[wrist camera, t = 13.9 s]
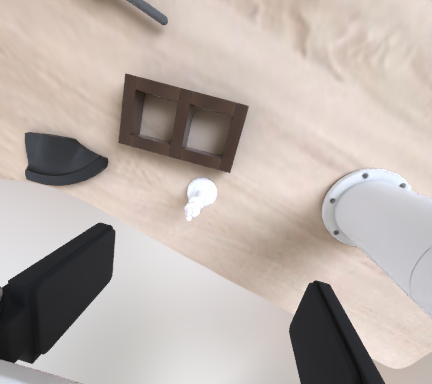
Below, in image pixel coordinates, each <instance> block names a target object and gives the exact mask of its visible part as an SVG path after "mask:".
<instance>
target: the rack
mask: <svg viewBox="0 0 432 384" xmlns="http://www.w3.org/2000/svg"><path fill="white" fill-rule="evenodd" d="M145 93H146V94H150V95H154V96H158V97H161V98H165V99H169V100H173V101H176V102H178V107H177V113H176V119H175V124H174V130H173V135H172V141H171V142H167V141H163V140H160V139H156V138H152V137H148V136H145V135H141V134H140V127H141V119H142V111H143V103H144V96H145ZM194 106H195V107H199V108H203V109H206V110H210V111H214V112H218V113H222V114H225V115H229V116H233V120H232V124H231V128H230V131H229V135H228V139H227V143H226V147H225V150H224V154H223V156H219V155H215V154H211V153H208V152H204V151H200V150H197V149H193V148H189V147H186V146H187V141H188V136H189V131H190V126H191V121H192V116H193V111H194ZM248 107H249V106H247V105H243V104H239V103H235V102H232V101H228V100H224V99H220V98H216V97H213V96H209V95H205V94H201V93H198V92H194V91H190V90H186V89H182V88H179V87H175V86H171V85H167V84H163V83H160V82H156V81H152V80H148V79H145V78H141V77H137V76H133V75H129V74H125V83H124V93H123V103H122V114H121V124H120V134H119V143H121V144H125V145H129V146H132V147H136V148H140V149H143V150H147V151H151V152H154V153H158V154H162V155H165V156H169V157H173V158H176V159H180V160H184V161H188V162H191V163H195V164H199V165H202V166H206V167H210V168H214V169H217V170H219V169H220V170H221V171H225V172H228V173H230V171H231V168H232V164H233V161H234V157H235V154H236V150H237V146H238V143H239V139H240V136H241V132H242V129H243V125H244V122H245V118H246V114H247V111H248Z"/></svg>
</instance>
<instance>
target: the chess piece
mask: <svg viewBox="0 0 432 384" xmlns="http://www.w3.org/2000/svg"><path fill="white" fill-rule="evenodd" d="M187 195H188V198H189V201H188V204H187V205H186V206H185V209H184V211H185V213H186V215H187V217H186V218H187V221H190V220H191V217H192V218H193V217H196V216H198V215H199V213H200V210H201V209H202V207H206V206H209V205H210V204H212V203H213V202H214V200H215V199H216V196H217V189H216V186H215V185H214V183H213V182H212V181H210V180H209V179H207V178H196V179H194V180H193V181H192V182H191V183H190V184H189V186H188V189H187Z"/></svg>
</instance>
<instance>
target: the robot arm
mask: <svg viewBox="0 0 432 384" xmlns="http://www.w3.org/2000/svg"><path fill="white" fill-rule="evenodd" d="M330 199H331V200H330ZM322 219H323V222H324V225H325V227H326V228H327V230H328V231H329V233H330V234H331V235H332V236H333V237H334V238H336V239H337V240H338V241H340V242H342V243H344V244H347V245H351V246H357V247H359V248H360V249H361V250H362V251H363V252H364V253H365V254H366V255H367V256H368V257H369V258H370V259H371V260H372V261H373V262H374V263H375V264H376V265H377V266H378V267H379V268H380V269H381V270H382V271H383V272H384V273H385V274H386V275H387V276H388V277H389V278H390V279H391V280H392V281H394V282H395V283H396V284H397V285H398V286H399V287H400V288H401V289H402V290H403V291H404V292H405V293H406V294H407V295H408V296H409V297H410V298H411V299H412V300H413V301H414V302H415V303H416V304H417V305H418V306H419V307H420V308H421V309H422V310H423V311H424V312H425V313H427V314H428V315H429V316H430V317H431V318H432V198H429V197H426V196H424V195H421V194H418V193H415V192H413V191H412V189H411V187H410V185H409V184H408V183H407V182H406V180H405V179H404V178H402V177H401V176H399V175H398V174H396V173H393V172H391V171H388V170H384V169H377V168H369V169H362V170H358V171H354V172H352V173H350V174H348V175H346V176H344V177H343V178H341V179H340V180H338V181H337V182H336V183H335V184H334V185H333V186H332V187H331V189H330V190H329V191H328V193H327V195H326V197H325V199H324V202H323V205H322ZM114 245H115V230H114V229H113V227H112V226H111V225H107V224H104V223H98V224H96V225H95V226H93V227H91V228H90V229H88V230H86V231H85V232H83V233H82V234H80V235H79V236H77V237H76V238H74V239H73V240H71V241H69V242H68V243H66V244H65V245H63V246H62V247H60V248H58V249H57V250H55V251H54V252H52V253H51V254H49V255H48V256H46V257H44V258H43V259H41V260H40V261H38V262H37V263H35V264H34V265H32V266H30V267H29V268H27V269H26V270H24V271H23V272H21V273H20V274H18V275H16V276H15V277H13V278H12V279H10V280H9V281H8V284H7V285H5V286H4V287H2V288H1V287H0V384H81V383H78V382H75V381H72V380H69V379H66V378H62V377H59V376H56V375H53V374H49V373H46V372H42V371H39V370H35V369H32V368H28V367H25V366H21V365H18V364H14V363H15V362H16V361H17V360H21V361H25V362H28V363H31V364H32V363H34V361H35V360H36V359H37V358H38V357H39V356H40V355H41V354H45V353H47V352H48V351H49V350H50V349H51V348H52V347H53V345H54V344H55V343H56V342H57V341H58V340H59V338H60V337H61V336H62V335H63V334H64V333H65V332H66V330H67V329H68V328H69V327H70V326H71V325H72V324H73V323H74V322H75V320H76V319H77V318H78V317H79V316H80V315H81V314H82V312H83V311H84V310H85V309H86V308H87V307H88V306H89V304H90V303H91V302H92V301H93V300H94V299H95V298H96V296H97V295H98V294H99V293H100V292H101V291H102V290H103V288H104V287H105V286H106V285H107V284H108V283H109V282H110V280H111V277H112V273H113V259H114ZM289 329H290V330H289V333H290V338H291V343H292V347H293V351H294V356H295V360H296V365H297V369H298V373H299V378H300V382H301V384H385V382H384V381H383V379H382V377H381V375H380V373H379V372H378V370H377V368H376V366H375V364H374V363H373V361H372V359H371V357H370V356H369V354H368V352H367V350H366V348H365V347H364V345H363V343H362V341H361V339H360V338H359V336H358V334H357V332H356V331H355V329H354V327H353V325H352V323H351V322H350V320H349V318H348V316H347V314H346V313H345V311H344V309H343V307H342V306H341V304H340V302H339V300H338V298H337V297H336V295H335V293H334V291H333V290H332V288H331V286H330V285H329V284H327V283H323V282H320V281H314V282H313V283H309V285H308V287H307V289H306V291H305V293H304V295H303V298H302V300H301V302H300V304H299V306H298V309H297V311H296V313H295V315H294V318H293V320H292V322H291V324H290V328H289Z"/></svg>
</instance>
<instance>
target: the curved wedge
mask: <svg viewBox="0 0 432 384" xmlns="http://www.w3.org/2000/svg"><path fill="white" fill-rule="evenodd" d="M25 146H26V152H27V158H28V163H29V164H28V167H27V169H26V170H25V176H26V179H28V180H31V181H34V182H37V183H41V184H46V185H70V184H74V183H78V182H81V181H84V180H87V179H89V178H91V177H94V176H96V175H97V174H99V173H100V172H101V171H103V170H104V169H105V168H106V167H107V165H108V159H107V158H105V157H102V156H101V155H98V154H96V153H94V152H92V151H90V150H89V149H87V148H86V147H84V146H83V145H82V144H80V143H79V142H78V141H77V140H76V139H73V138H68V137H62V136H57V135H50V134H39V133H32V132H29V133H25Z"/></svg>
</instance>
